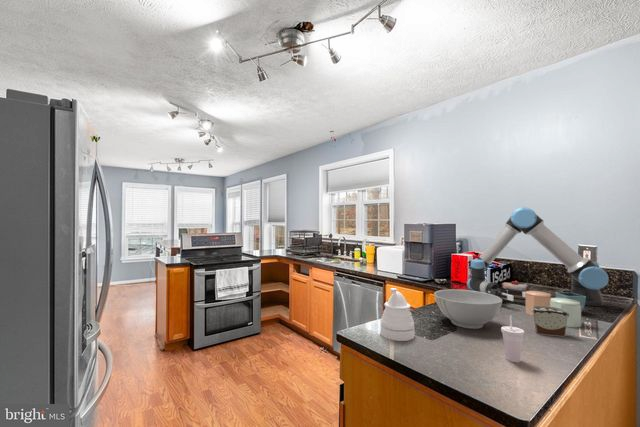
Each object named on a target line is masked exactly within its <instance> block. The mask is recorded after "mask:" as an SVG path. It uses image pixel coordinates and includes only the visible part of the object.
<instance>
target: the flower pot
mask: <svg viewBox="0 0 640 427" xmlns="http://www.w3.org/2000/svg"><path fill="white" fill-rule="evenodd" d="M555 298H566V299H572V300H576V301H579V302H580V305H581V313H582V312H583V310H584V309H585V306H586V305H585V301H586V297H585V296H582V295H579V294H575V293H570V292H562V291H561V292H560V291H558V292H557V291H556V292H555Z"/></svg>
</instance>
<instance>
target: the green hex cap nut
mask: <svg viewBox="0 0 640 427" xmlns="http://www.w3.org/2000/svg"><path fill="white" fill-rule="evenodd" d="M550 307H555V308H560V309H563V310H566V311H568V313H569V316H567V325H566V328H581V327H582V312H581V305H580V302H579V301H576V300H572V299H566V298H556V297H552V298H551V300H550Z"/></svg>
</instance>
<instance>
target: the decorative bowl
mask: <svg viewBox="0 0 640 427" xmlns="http://www.w3.org/2000/svg"><path fill="white" fill-rule="evenodd" d="M433 295H434V296H433V297H434V300H435V302H436V304H437V307H438V308H439V310H440V311H441V312H442V314H443V315H444V316H445V317H446V318H447V319H449V320H450V322H451V324H453V325H455V326H457V327H460V328H463V329H471V330H472V329H475V330H476V329H477V330H478V329H482V328H483V326H484V325H485V324H488V323H489V322H491V321H492V320H493V319H494V318H495V317H496V316H497V315H498V313H499V311H501V307H502V304H503V298H502V297H501V298H500V297H498V296H495V295H492V294H488V293H484V292H478V291H473V290H471V289H469V290H468V289H460V288H459V289H440V290H436V291H435V292H434V293H433Z"/></svg>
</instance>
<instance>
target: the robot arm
mask: <svg viewBox="0 0 640 427" xmlns="http://www.w3.org/2000/svg"><path fill="white" fill-rule="evenodd" d="M521 232H522V233H523V234H524V235H528V236H529V235H530V236H531V237H532V238H533V239H534V240H536V241H537V243H538V244H540V245H541V246H542V247H543V248H544V249H546V250H547V251H548V252H549V253H550V254H551V255H552V256H554V257H555V258H556V259H557V260H558V261H559V262H561V263H562V265H563V266H565V267H566V268H567V273H568V274H569V275H570V276H571V288H570V290H569V293H575V294H579V295H582V296H585V297H586V301H585V306H592V307H603V306H604V305H605V300H604V298H603V295H602V293H601V291H600V289H603V288H604V287H606V286H607V284H608V283H609V280H610V279H609V275H608V273H607V272H606V270H604V269H603V268H602V267H600V264H599V262H597V261H592V260H591V259H590V258H587V257H582V256H581V255H580V254H579V253H578V252H577V251H575V250H574V249H573V248H572V247H571V246H569V245H568V244H567V243H566V242H565V241H564V240H562V238H560V237H559V236H558V235H557V234H555V233H554V232H553V231H552V230H551V229H550V228H548V227H547V226H546V225H545V224H544V220H543V219H542V218H541V217H540V216H539V215H538V214H537V213H536V212H535V211H534V209H532V208H530V207H525V206H522V207H517V208H516V209H514V210H513V211H512V212H511V214H510V217H509V218H508V219H507V221H506V222H505V226H504V228H502V230H501V231H500V232H499V233H498V234H497V235H496V236H495V237H494V239H492V241H491V242H490V243H489V245H488V246H487V247H486V248H485V250H484V251H483V252H482V253H481V254H480V255H479V257H478V258H475V259H471V261H470V273H471V274H470V278H468V280H467V281H466V286H467V287H468V289H469V290H471V291H478V292H484V293H488V294H492V295H495V296H498V297H500V298H501V299H502V300H503V299H504V300H508V301H511V302H514V301H515V298H514V296H513V295H517V296H522V297H525V293H526V291H524V290H523V291H522V290H515V289H509V288H503V287H501V286H500V284H498V283H495V282H491V281H488V280H487V281H486V277H485V276H486V269H487V268H488V267H489V266H490V265H491V264H492V263H493V261H495V259H497V257H498V256H499V255H500V253H501V252H503V250H504V249H505V248H506V247H507V246H508V244H510V242H511V241H512V240H514V238H515V236H517V235H518V234H520V233H521ZM507 293H508V294H507Z"/></svg>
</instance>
